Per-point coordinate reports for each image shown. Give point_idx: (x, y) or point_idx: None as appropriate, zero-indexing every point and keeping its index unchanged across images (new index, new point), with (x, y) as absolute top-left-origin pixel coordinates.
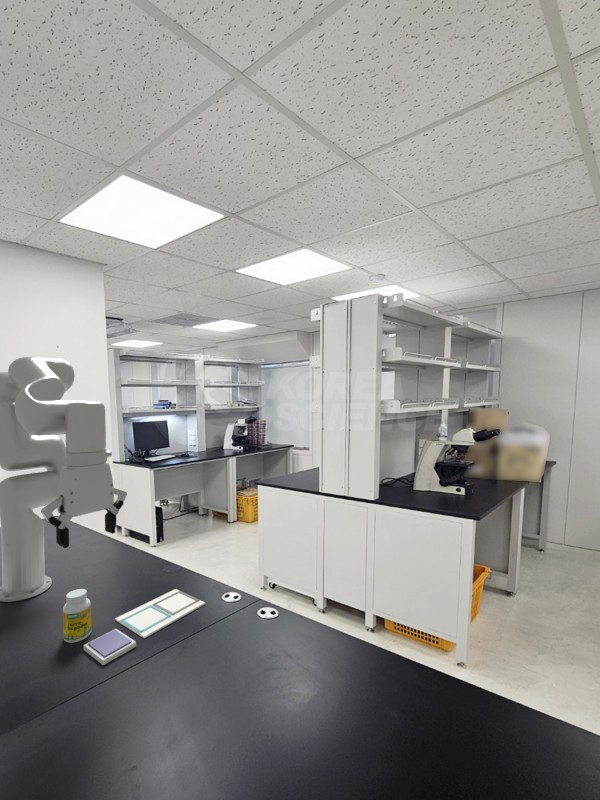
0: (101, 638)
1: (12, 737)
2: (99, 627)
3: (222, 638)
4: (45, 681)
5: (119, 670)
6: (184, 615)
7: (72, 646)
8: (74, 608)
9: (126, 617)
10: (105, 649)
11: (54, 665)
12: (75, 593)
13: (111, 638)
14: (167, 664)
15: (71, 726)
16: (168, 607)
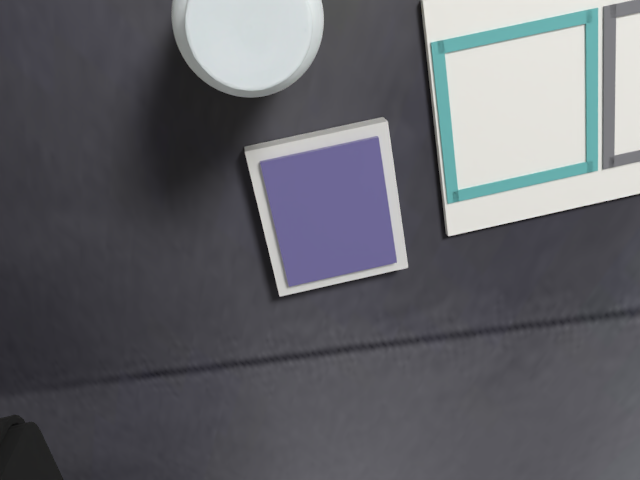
0: (313, 167)
1: None
2: (344, 11)
3: (617, 394)
4: (96, 245)
5: (312, 343)
6: (633, 193)
7: None
8: (223, 86)
9: (462, 39)
10: (303, 252)
11: (132, 172)
12: (243, 23)
13: (344, 194)
14: (432, 403)
15: (146, 466)
16: (632, 92)
